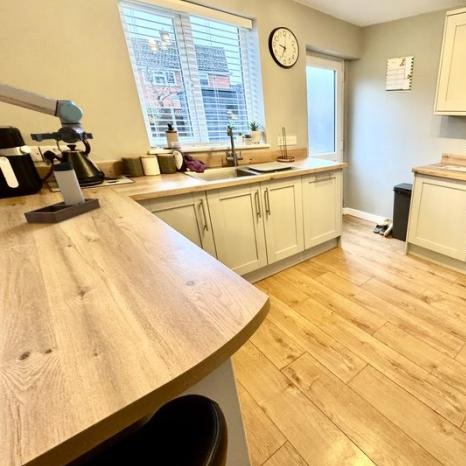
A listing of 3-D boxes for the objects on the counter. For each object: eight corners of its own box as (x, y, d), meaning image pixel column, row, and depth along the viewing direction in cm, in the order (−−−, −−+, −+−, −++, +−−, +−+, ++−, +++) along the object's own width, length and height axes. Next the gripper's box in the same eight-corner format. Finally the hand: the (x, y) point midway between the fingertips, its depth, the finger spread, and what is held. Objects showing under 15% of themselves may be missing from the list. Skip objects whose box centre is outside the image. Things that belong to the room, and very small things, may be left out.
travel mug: (87, 209, 124) (70, 162, 117) (66, 212, 121) (48, 163, 113) (89, 206, 129) (73, 160, 121) (69, 208, 125) (52, 161, 118)
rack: (28, 223, 110) (23, 213, 108) (75, 207, 130) (72, 198, 128) (58, 223, 110) (53, 213, 109) (100, 207, 130) (97, 198, 129)
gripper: (105, 142, 146) (98, 145, 129) (37, 144, 133) (20, 148, 116) (100, 126, 143) (93, 127, 126) (30, 126, 130) (12, 128, 114)
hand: (58, 137), depth 121 cm, fingers open, 13 cm apart
